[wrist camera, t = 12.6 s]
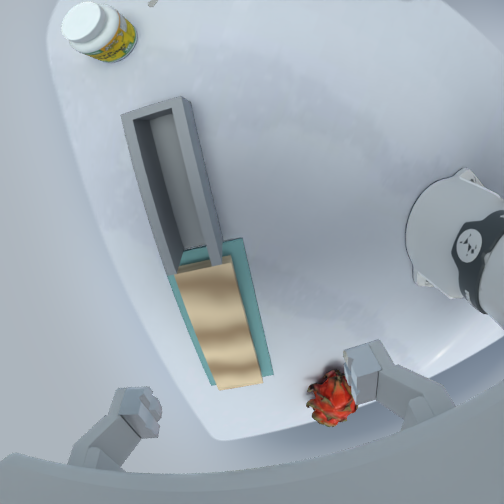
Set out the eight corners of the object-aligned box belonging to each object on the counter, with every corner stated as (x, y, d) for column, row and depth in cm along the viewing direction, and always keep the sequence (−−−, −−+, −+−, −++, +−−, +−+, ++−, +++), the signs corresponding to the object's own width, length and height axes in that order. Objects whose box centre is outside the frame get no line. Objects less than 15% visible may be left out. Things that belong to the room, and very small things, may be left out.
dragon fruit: (316, 400, 52) (323, 349, 49) (359, 412, 47) (371, 360, 44) (297, 429, 45) (303, 377, 42) (344, 443, 41) (358, 392, 37)
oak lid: (261, 369, 44) (263, 382, 42) (219, 377, 44) (219, 390, 42) (230, 252, 36) (231, 262, 34) (177, 263, 36) (173, 274, 34)
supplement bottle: (133, 15, 24) (104, -16, 15) (142, 52, 26) (113, 29, 18) (91, 34, 24) (51, 12, 16) (99, 71, 26) (58, 57, 18)
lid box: (222, 238, 36) (222, 264, 29) (177, 248, 36) (167, 276, 29) (190, 102, 29) (181, 96, 23) (141, 116, 29) (120, 114, 23)
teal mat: (273, 372, 45) (273, 374, 45) (211, 383, 45) (211, 385, 45) (242, 237, 36) (242, 239, 36) (161, 255, 36) (160, 257, 36)
